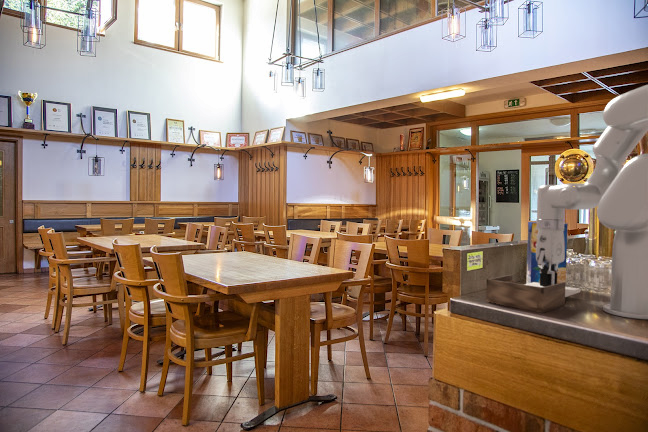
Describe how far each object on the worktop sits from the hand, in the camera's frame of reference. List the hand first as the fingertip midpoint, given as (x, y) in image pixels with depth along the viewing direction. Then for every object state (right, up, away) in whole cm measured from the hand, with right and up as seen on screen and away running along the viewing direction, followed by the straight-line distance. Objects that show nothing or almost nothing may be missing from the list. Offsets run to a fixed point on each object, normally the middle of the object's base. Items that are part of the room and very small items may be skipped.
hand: (548, 285), depth 139 cm
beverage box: (+8, -3, +17) cm, 19 cm away
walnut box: (-11, -4, -10) cm, 15 cm away
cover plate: (0, -2, 0) cm, 2 cm away
